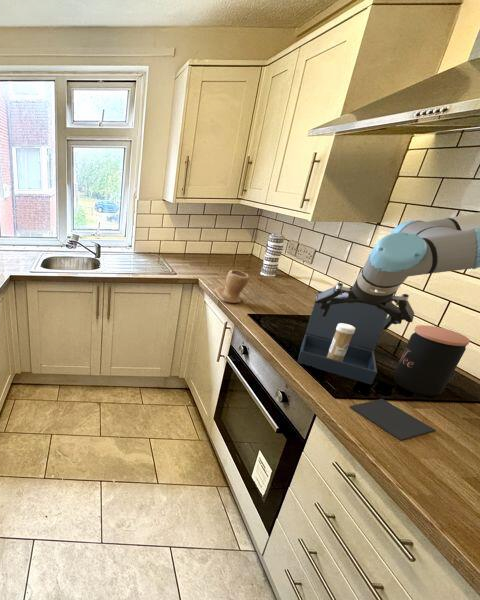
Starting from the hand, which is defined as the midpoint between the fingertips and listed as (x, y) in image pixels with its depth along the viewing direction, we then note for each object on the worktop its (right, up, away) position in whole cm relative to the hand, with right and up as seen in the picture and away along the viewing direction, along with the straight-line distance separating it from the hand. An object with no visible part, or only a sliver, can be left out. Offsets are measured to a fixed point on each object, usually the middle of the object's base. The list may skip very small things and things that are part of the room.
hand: (353, 318), depth 91 cm
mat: (+2, -26, -8) cm, 27 cm away
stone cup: (-3, +6, +68) cm, 69 cm away
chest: (+7, -16, +16) cm, 23 cm away
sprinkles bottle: (+7, -15, +15) cm, 23 cm away
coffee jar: (+22, -21, +4) cm, 31 cm away
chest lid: (+12, -1, +17) cm, 21 cm away
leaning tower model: (+39, +21, +107) cm, 116 cm away
